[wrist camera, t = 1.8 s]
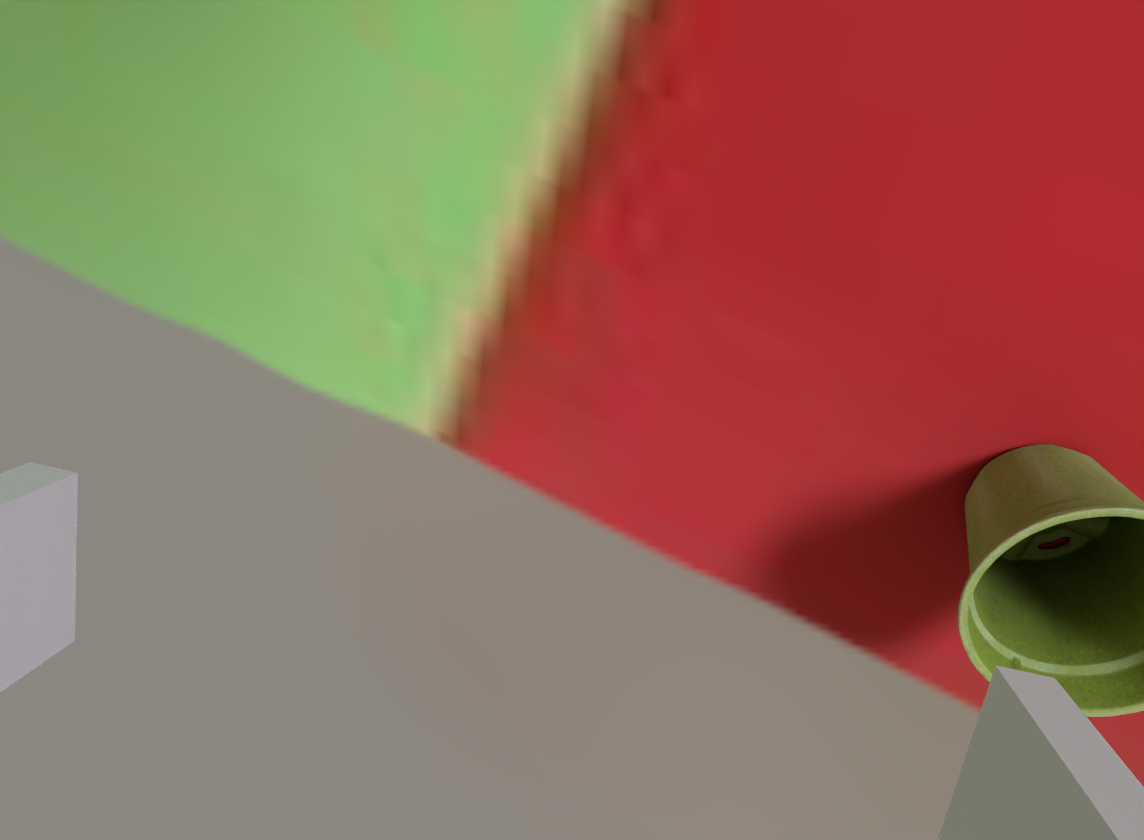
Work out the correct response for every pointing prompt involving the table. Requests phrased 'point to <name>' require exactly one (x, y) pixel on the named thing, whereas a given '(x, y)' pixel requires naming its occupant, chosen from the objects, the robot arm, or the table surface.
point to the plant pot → (1057, 576)
